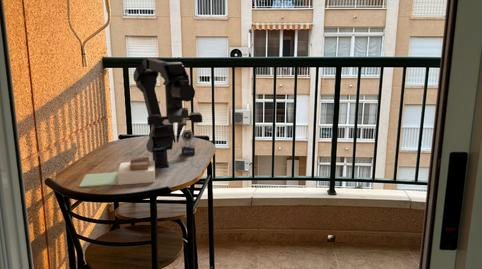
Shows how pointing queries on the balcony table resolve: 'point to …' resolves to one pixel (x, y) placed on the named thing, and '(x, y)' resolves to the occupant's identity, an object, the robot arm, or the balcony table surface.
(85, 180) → the sage green mat
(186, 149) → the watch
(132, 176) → the block
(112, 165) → the balcony table surface
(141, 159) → the walnut tile
